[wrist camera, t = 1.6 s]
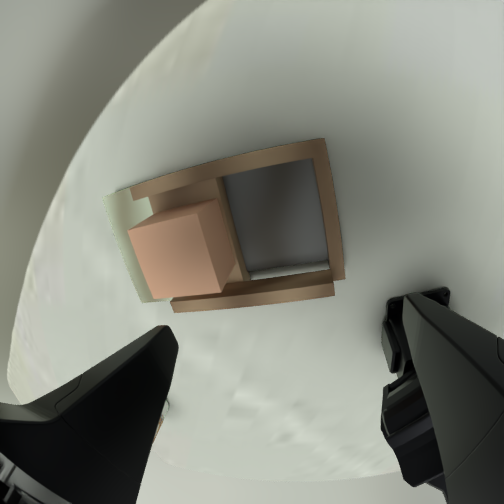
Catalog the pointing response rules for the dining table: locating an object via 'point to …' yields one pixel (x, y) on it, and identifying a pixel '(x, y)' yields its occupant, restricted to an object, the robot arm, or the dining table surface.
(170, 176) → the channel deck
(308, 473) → the dining table surface
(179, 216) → the block
